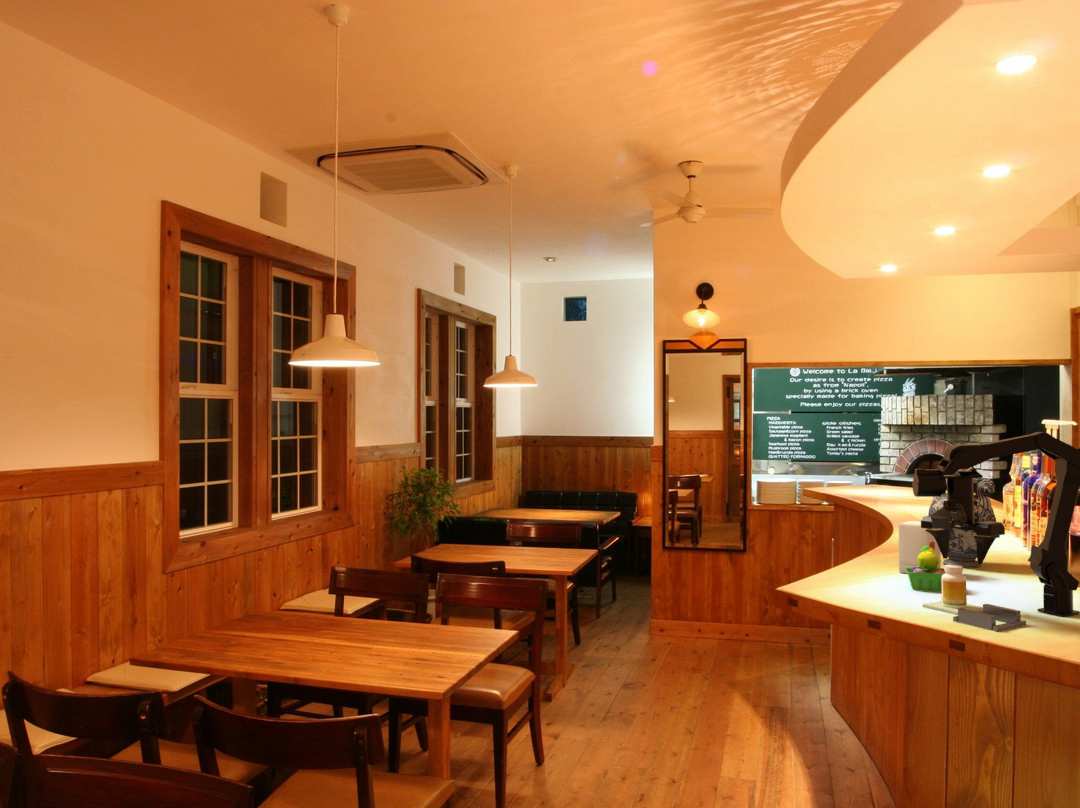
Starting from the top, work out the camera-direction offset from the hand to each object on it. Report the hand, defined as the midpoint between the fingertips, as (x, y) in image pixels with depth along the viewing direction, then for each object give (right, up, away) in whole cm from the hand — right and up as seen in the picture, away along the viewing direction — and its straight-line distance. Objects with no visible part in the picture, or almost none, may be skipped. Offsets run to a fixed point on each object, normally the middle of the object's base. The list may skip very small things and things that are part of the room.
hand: (962, 561), depth 198 cm
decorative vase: (+30, -13, +58) cm, 66 cm away
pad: (-1, -12, +1) cm, 12 cm away
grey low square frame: (-1, -12, -13) cm, 17 cm away
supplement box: (+11, -13, +46) cm, 49 cm away
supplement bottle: (-1, -11, +1) cm, 11 cm away
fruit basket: (+4, -12, +24) cm, 27 cm away
